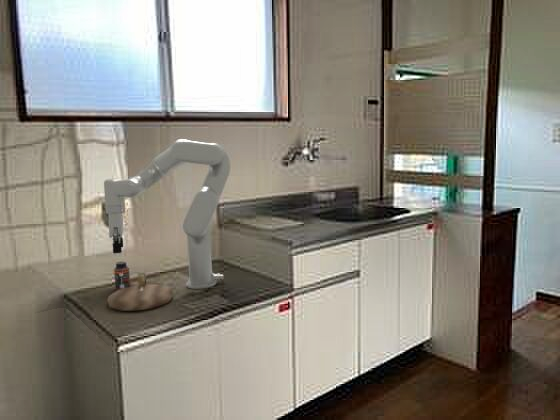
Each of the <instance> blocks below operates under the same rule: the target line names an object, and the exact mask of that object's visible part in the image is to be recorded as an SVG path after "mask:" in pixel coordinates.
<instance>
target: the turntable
mask: <svg viewBox="0 0 560 420" xmlns="http://www.w3.org/2000/svg"><path fill="white" fill-rule="evenodd" d="M137 280H138V281H137V283H138V285H133V286H130V287H128V288H124V289H121V290H116V291H115V292H112V293H111V294H109V296H108V297H107V305H108V307H109V308H110V309H112V310H117V311H123V312H126V311H127V312H135V311H143V310H149V309H154V308H157V307H161V306H163V305H165V304H167V303H169V302H170V301H171V300H172V299H173V297H174V291H173V288H172V287H170V286H168V285H163V284H158V283H157V284H156V283H154V284H150V283H149V284H147V285H145V276H144V275H138V274H137Z"/></svg>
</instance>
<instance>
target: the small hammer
mask: <svg viewBox="0 0 560 420" xmlns="http://www.w3.org/2000/svg"><path fill="white" fill-rule="evenodd" d="M138 275H144V276H145V285H148V284H147V273H146V272H141V273H137V276H138Z"/></svg>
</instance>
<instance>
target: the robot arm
mask: <svg viewBox="0 0 560 420" xmlns="http://www.w3.org/2000/svg"><path fill="white" fill-rule="evenodd" d="M186 163H187V164H188V163H189V164H197V165H204V166H208V171H207V173H206V175H205V178H204V180H203V182H202V185H201V186H200V189H199V190H198V191H197V192H196V194H195V195H194V196H193V199H192V202H191V204H190V206H189V209H188V210H187V212H186V213H187V214H186V215H185V217H184V220H183V223H182V229H183V231H184V232H183V233H185V235H186V242H187V244H186V245H187V262H188V274H189V277H188V278H189V280H188V281H187V282H186V283H185V285H186V287H187V288H189V289H194V290H202V289H209V288H212V287H214V286H215V285H216V284H217V280H223V279H224V278H225V277H224V274H222V273H221V274H220V273H214V272H213V264H212V249H211V244H212V243H211V222H212V221H211V220H212V218H213V216H214V215H215V213H216V209H217V208H218V205H219V202H220V198H221V196H222V193H223V192H224V188H225V186H226V183H227V181H228V178H229V175H230V171H231V161H230V158H229V155H228V153H227V151H226V150H225V149H224V148H223V146H222V145H220V144H219V143H217V142H210V143H209V142H200V141H193V140H189V139H185V138H184V139H183V138H181V139H177V140H176V141H174V142H173V143H172V145H170V147H168V148H167V149H165V150H164V151H163V152H162V153H160V154H158V155H157V156H155V158H153V159H152V160H151V162H150V163H149V165H148V166H147V167H145V168H144V169H143V170H141V171H140V172H139V173H138V174H136V175H134V176H132V177H129V178H128V179H121V178H108V179H106V180H104V181H103V190H104V191H103V192H104V203H105V206H104V207H105V213H106V214H107V215H108V236H109V239H112V253H113V254H121V253H122V252H123V251H122V248H124V238H123V235H124V219H123V218H124V215H123V214H125V213H126V201H125V198H136V197H138V196H140V195H142V194H143V193H144V192H146V191H147V190H149V189H150V188H151V187H153V186H154V185H156V183H158V182H159V181H161V180H162V179H165V178H166V177H168V176H169V175H170V174H172V173H173V172H174V171H176V170H177V169H179V168H180V167H181V166H182V165H185V164H186Z"/></svg>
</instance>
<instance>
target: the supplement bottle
mask: <svg viewBox="0 0 560 420" xmlns="http://www.w3.org/2000/svg"><path fill="white" fill-rule="evenodd" d="M115 266H116V267H115V268H114V270H113V273H114V286H115V290H116V291H118V290H121V289H124V288H128V287H131V279H130V277H131V275H130V268H129V267H128V266H127V261H119V262H115Z"/></svg>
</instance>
